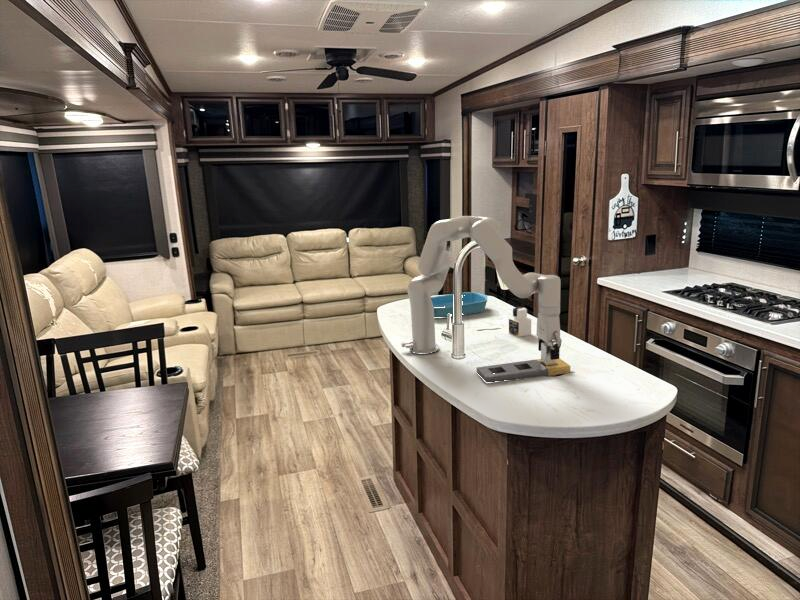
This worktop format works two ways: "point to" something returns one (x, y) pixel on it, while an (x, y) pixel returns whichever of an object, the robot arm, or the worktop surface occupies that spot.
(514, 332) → the medicine bottle
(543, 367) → the rail
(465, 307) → the casserole dish
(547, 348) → the steel peg
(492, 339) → the worktop surface
